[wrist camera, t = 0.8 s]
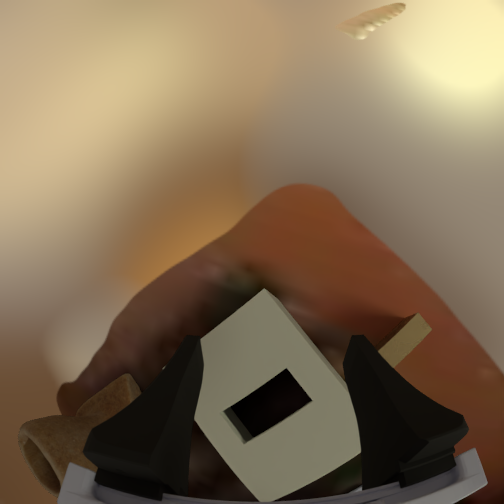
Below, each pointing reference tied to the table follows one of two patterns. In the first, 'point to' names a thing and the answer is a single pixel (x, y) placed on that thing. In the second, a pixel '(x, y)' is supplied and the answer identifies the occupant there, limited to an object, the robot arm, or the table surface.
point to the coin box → (254, 376)
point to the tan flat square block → (403, 339)
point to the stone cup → (71, 433)
